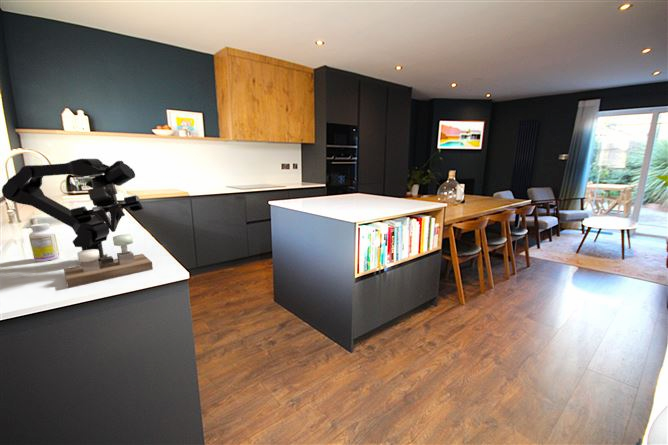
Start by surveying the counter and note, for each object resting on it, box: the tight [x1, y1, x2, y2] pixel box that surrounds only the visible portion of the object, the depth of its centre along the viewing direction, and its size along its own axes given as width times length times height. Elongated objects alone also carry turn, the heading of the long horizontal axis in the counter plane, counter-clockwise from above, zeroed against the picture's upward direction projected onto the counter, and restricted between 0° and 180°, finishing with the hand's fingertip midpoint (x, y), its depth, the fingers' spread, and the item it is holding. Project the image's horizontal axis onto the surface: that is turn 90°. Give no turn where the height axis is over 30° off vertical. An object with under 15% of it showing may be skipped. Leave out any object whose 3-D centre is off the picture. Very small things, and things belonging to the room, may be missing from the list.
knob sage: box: [112, 234, 134, 254], centre depth 96 cm, size 5×5×6 cm
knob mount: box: [63, 250, 154, 289], centre depth 95 cm, size 12×21×6 cm, turn 134°
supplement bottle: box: [28, 222, 60, 262], centre depth 107 cm, size 7×7×13 cm
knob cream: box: [76, 249, 100, 263], centre depth 91 cm, size 5×5×6 cm
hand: (113, 231), depth 95 cm, fingers closed
